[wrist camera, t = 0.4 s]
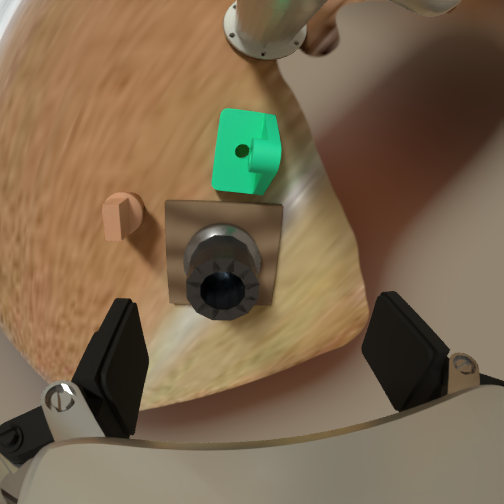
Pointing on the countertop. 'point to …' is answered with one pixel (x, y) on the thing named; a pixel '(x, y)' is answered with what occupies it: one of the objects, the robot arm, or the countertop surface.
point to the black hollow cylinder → (222, 271)
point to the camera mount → (258, 159)
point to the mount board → (209, 212)
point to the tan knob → (122, 215)
